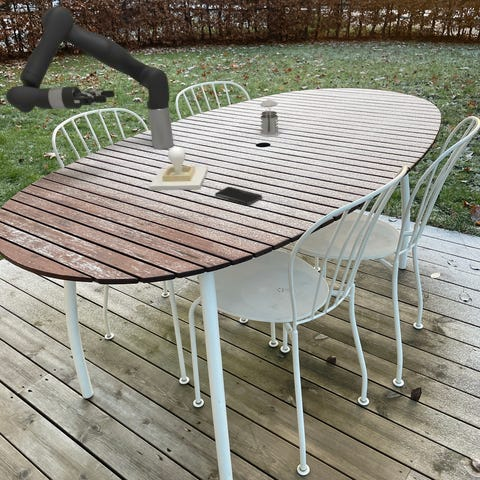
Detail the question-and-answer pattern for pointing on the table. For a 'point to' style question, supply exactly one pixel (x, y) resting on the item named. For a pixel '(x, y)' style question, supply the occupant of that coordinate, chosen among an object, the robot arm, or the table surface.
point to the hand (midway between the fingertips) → (110, 96)
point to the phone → (238, 196)
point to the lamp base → (179, 178)
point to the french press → (269, 118)
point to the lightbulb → (177, 159)
